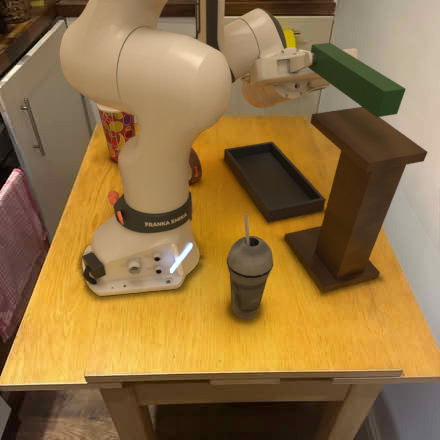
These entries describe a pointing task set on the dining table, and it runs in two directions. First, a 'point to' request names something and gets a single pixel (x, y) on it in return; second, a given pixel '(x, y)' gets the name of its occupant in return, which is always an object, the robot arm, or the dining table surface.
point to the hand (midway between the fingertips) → (326, 56)
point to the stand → (354, 197)
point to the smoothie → (116, 128)
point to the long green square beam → (357, 80)
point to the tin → (194, 167)
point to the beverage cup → (248, 273)
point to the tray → (273, 181)
